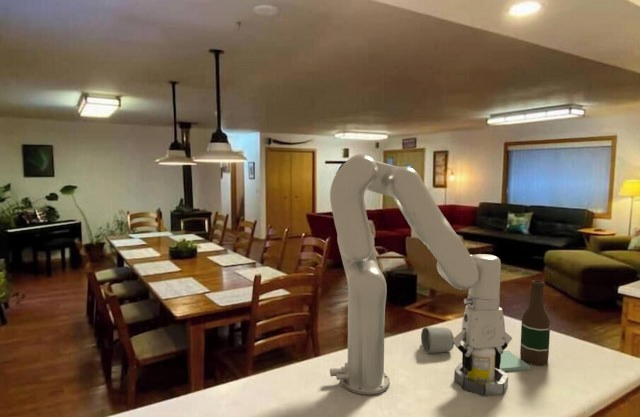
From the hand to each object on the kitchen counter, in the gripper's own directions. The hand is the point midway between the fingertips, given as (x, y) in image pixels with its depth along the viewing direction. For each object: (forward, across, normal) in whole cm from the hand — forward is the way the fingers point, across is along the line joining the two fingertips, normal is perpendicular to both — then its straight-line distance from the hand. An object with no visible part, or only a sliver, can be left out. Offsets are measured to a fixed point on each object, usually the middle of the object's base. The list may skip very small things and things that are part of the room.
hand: (481, 367), depth 108 cm
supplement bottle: (+5, 0, 0) cm, 5 cm away
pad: (+4, +13, +10) cm, 17 cm away
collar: (+4, 0, 0) cm, 4 cm away
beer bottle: (+5, +23, +10) cm, 26 cm away
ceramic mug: (+5, -3, +22) cm, 23 cm away
